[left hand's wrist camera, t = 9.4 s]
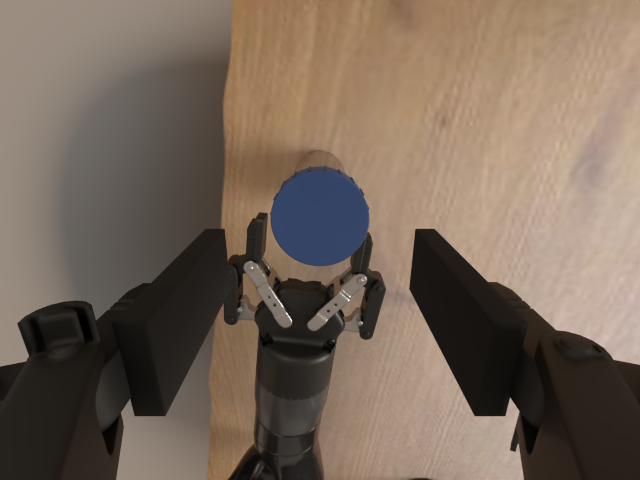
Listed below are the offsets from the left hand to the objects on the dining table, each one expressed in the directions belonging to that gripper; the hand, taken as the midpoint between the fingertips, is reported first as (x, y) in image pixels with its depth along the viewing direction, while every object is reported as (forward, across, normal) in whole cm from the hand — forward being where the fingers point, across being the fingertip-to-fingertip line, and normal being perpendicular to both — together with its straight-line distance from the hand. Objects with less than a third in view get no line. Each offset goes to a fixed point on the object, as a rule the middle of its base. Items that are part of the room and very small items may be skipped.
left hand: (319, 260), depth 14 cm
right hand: (+15, +1, +3) cm, 15 cm away
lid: (+6, 0, 0) cm, 6 cm away
